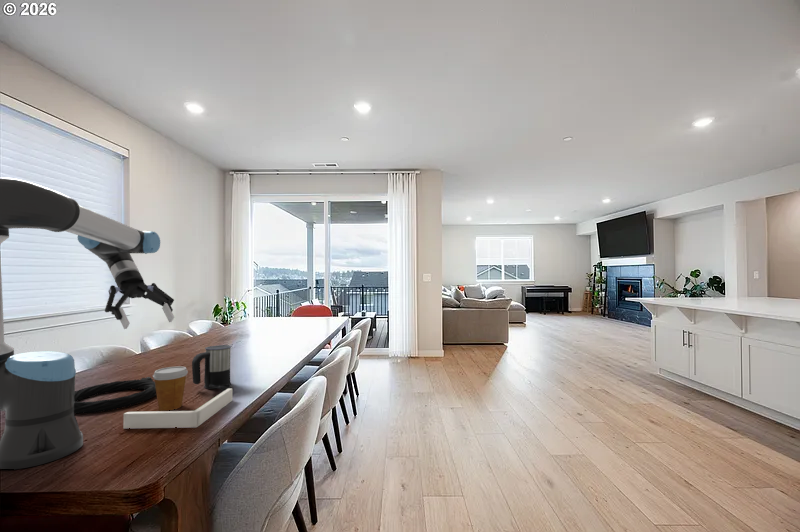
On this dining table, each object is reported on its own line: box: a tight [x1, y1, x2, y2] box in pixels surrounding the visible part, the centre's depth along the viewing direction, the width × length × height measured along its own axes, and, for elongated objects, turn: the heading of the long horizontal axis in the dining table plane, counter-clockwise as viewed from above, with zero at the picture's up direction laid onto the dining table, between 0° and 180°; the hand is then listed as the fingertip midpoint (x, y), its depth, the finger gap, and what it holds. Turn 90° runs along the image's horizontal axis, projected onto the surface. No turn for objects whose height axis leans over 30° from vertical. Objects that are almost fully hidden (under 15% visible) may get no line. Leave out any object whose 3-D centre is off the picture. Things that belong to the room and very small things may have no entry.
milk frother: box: [191, 344, 234, 392], centre depth 136 cm, size 14×16×15 cm
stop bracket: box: [122, 388, 233, 430], centre depth 111 cm, size 22×20×4 cm
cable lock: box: [74, 376, 157, 415], centre depth 126 cm, size 28×4×30 cm
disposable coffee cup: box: [152, 366, 189, 411], centre depth 116 cm, size 10×10×12 cm
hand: (150, 322), depth 121 cm, fingers open, 13 cm apart
